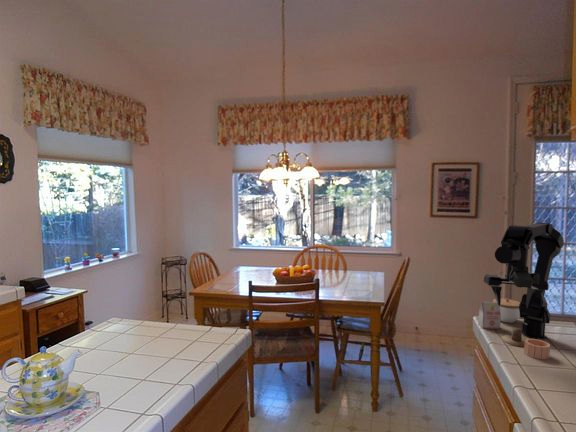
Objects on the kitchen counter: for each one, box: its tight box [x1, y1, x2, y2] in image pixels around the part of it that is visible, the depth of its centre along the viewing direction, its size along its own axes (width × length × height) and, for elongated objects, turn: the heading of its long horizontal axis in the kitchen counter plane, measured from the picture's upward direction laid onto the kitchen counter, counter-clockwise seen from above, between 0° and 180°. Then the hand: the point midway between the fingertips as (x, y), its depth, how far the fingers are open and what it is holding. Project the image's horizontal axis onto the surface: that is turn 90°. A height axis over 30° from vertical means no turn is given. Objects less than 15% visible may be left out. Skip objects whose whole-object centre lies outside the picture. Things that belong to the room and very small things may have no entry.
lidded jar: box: [492, 297, 521, 324], centre depth 162 cm, size 11×11×9 cm
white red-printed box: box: [477, 301, 501, 330], centre depth 153 cm, size 4×7×10 cm, turn 88°
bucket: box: [523, 338, 551, 360], centre depth 128 cm, size 7×7×4 cm
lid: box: [501, 327, 526, 348], centre depth 138 cm, size 9×9×5 cm
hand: (513, 306), depth 134 cm, fingers open, 9 cm apart
